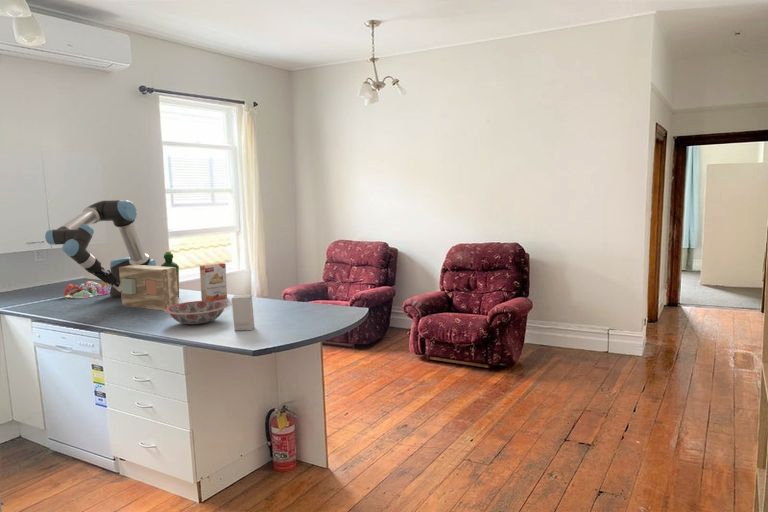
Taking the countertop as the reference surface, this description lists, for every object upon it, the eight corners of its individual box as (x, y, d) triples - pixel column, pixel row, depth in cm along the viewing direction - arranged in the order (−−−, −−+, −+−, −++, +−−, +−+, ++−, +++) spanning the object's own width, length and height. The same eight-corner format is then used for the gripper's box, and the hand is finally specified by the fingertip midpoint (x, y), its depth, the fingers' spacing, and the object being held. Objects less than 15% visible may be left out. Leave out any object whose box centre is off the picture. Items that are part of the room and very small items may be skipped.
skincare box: (254, 327, 264) (252, 294, 262) (252, 330, 257) (250, 297, 255) (236, 327, 263) (234, 294, 261) (233, 331, 257) (231, 297, 255)
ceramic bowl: (193, 314, 294) (192, 299, 293) (241, 317, 284) (240, 302, 282) (152, 328, 267) (150, 311, 266) (202, 332, 257) (201, 315, 256)
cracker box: (207, 302, 324) (204, 266, 321) (201, 301, 328) (198, 265, 325) (228, 298, 335) (225, 263, 332) (221, 297, 339) (219, 262, 336)
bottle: (177, 299, 333) (173, 252, 330) (159, 300, 334) (155, 253, 330) (183, 296, 344) (180, 250, 340) (166, 296, 344) (162, 250, 341)
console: (164, 310, 305) (161, 270, 302) (122, 305, 321) (118, 267, 318) (178, 306, 314) (175, 267, 311) (137, 302, 330) (134, 264, 327)
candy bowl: (81, 292, 370) (80, 278, 369) (117, 291, 369) (116, 277, 368) (58, 299, 346) (57, 284, 344) (96, 299, 345) (95, 284, 343)
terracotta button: (156, 295, 306) (155, 280, 305) (146, 294, 310) (145, 279, 309) (161, 294, 309) (160, 279, 308) (151, 293, 313) (149, 278, 312)
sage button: (131, 294, 311) (130, 279, 310) (122, 293, 315) (120, 279, 314) (136, 293, 314) (135, 278, 313) (126, 292, 318) (125, 278, 317)
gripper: (77, 268, 290) (109, 294, 306) (94, 269, 284) (125, 296, 301) (85, 256, 293) (116, 283, 310) (102, 257, 288) (133, 284, 304)
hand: (120, 289), depth 305 cm, fingers closed
